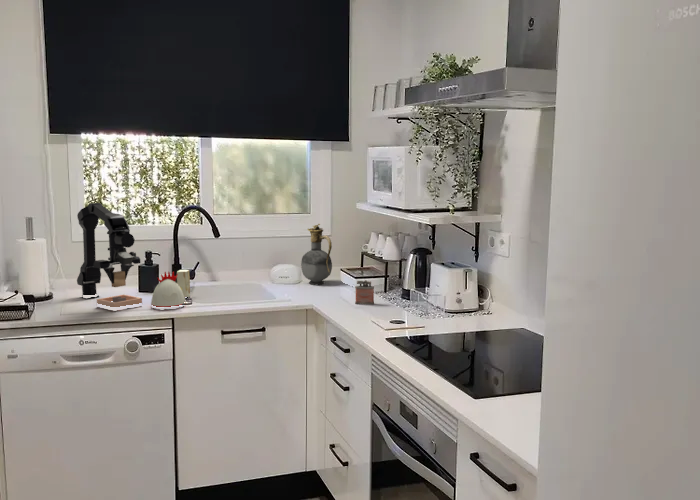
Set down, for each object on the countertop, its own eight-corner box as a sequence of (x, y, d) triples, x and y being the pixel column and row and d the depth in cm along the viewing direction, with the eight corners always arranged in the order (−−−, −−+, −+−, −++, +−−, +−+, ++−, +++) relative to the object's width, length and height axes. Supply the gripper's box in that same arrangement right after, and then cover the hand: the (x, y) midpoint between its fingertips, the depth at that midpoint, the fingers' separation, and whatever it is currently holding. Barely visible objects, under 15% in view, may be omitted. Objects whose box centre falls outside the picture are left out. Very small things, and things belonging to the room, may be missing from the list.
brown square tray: (97, 307, 280) (96, 298, 279) (124, 302, 290) (124, 293, 289) (114, 311, 271) (114, 302, 271) (142, 306, 282) (141, 296, 281)
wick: (111, 286, 278) (110, 272, 277) (122, 284, 282) (121, 270, 281) (115, 287, 277) (114, 273, 276) (125, 285, 281) (125, 271, 280)
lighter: (374, 303, 285) (374, 280, 284) (373, 304, 282) (373, 281, 281) (355, 302, 286) (355, 279, 285) (354, 304, 283) (354, 281, 281)
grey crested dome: (187, 308, 277) (186, 272, 275) (153, 311, 272) (151, 275, 270) (182, 302, 290) (181, 268, 288) (150, 304, 285) (148, 270, 283)
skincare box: (187, 298, 296) (186, 271, 295) (177, 298, 296) (176, 271, 295) (190, 295, 303) (189, 269, 301) (181, 296, 303) (180, 269, 301)
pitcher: (315, 280, 341) (314, 221, 337) (339, 285, 327) (339, 224, 323) (298, 283, 334) (297, 223, 330) (322, 288, 320) (321, 225, 316)
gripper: (107, 249, 265) (109, 287, 267) (147, 244, 279) (149, 281, 281) (91, 247, 272) (93, 284, 274) (131, 242, 286) (133, 278, 288)
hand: (118, 282), depth 279 cm, fingers closed on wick, 5 cm apart
